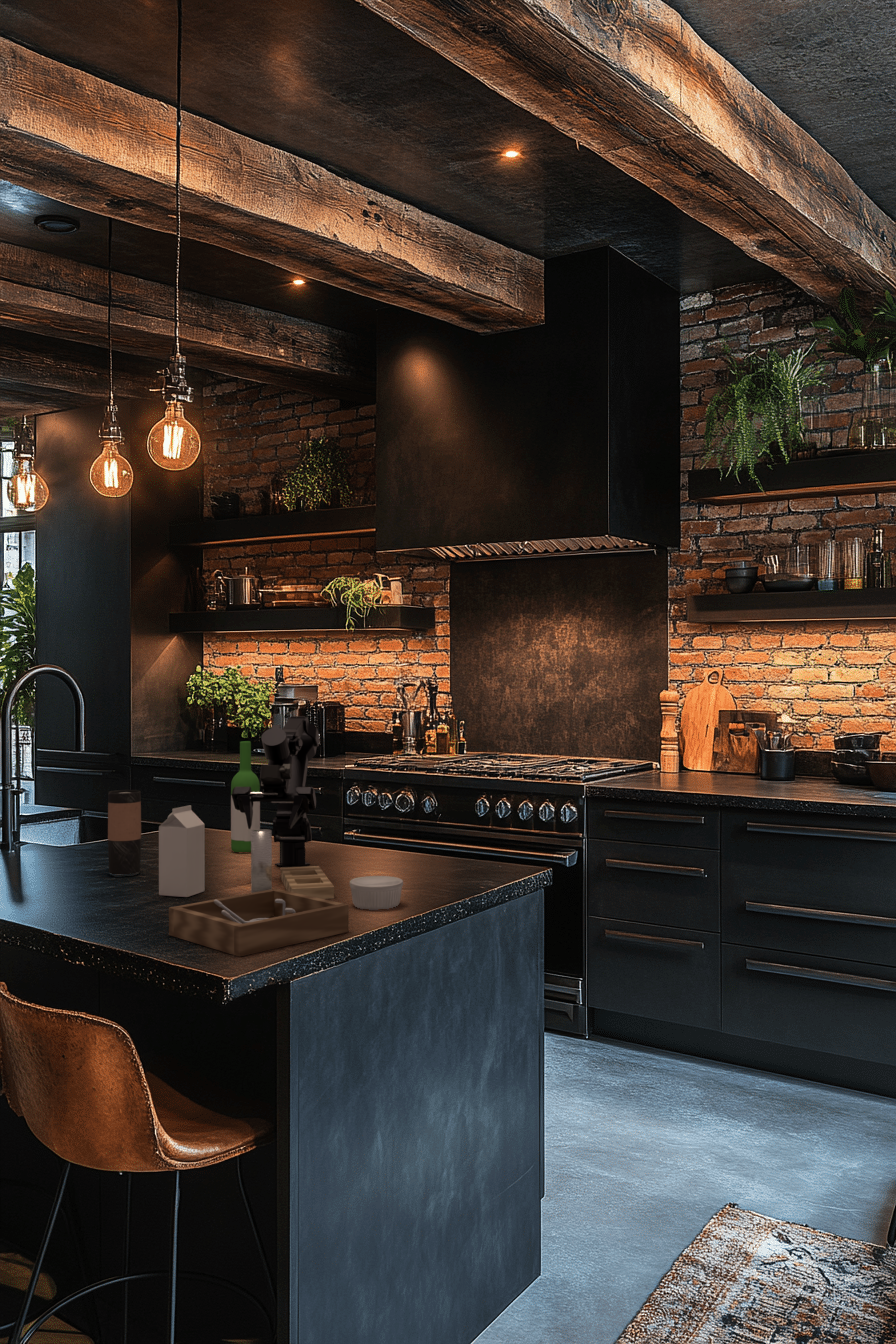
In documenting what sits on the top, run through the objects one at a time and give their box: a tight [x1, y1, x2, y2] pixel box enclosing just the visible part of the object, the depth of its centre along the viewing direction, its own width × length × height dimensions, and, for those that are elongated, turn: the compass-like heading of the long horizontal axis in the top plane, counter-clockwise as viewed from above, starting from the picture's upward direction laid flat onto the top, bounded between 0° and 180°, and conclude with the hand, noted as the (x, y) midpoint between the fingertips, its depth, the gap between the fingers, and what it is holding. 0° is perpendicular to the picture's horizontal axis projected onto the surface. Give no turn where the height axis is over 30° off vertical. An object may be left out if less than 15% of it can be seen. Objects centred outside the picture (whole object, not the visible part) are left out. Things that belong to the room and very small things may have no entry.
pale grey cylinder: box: [250, 828, 273, 893], centre depth 229 cm, size 4×4×14 cm
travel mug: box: [107, 789, 142, 874], centre depth 254 cm, size 8×8×20 cm
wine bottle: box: [230, 740, 261, 853], centre depth 288 cm, size 8×8×30 cm
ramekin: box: [349, 875, 404, 911], centre depth 218 cm, size 11×11×5 cm
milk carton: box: [158, 805, 206, 898], centre depth 231 cm, size 7×7×19 cm
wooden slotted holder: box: [280, 865, 335, 900], centre depth 237 cm, size 26×9×2 cm, turn 14°
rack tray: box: [168, 888, 350, 957], centre depth 195 cm, size 22×24×5 cm
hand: (269, 827), depth 237 cm, fingers open, 9 cm apart
